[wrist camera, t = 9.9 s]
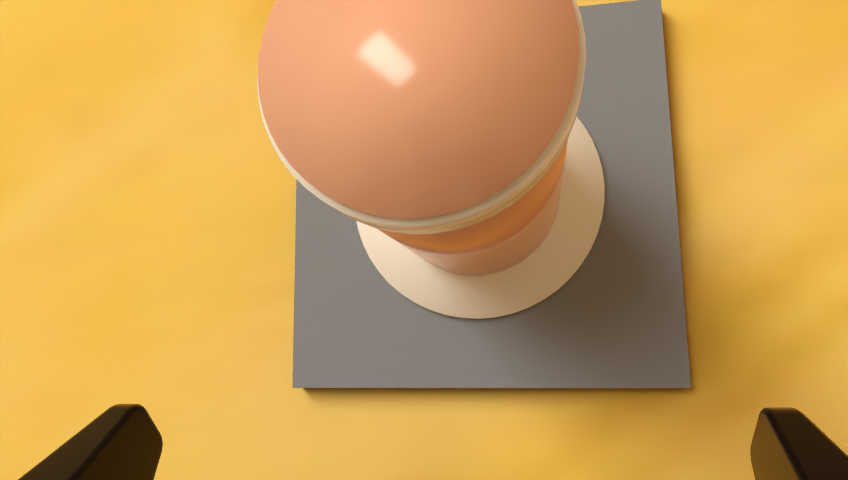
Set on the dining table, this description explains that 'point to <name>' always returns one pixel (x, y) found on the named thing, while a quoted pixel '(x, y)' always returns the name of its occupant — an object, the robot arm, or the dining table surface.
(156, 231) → the dining table surface
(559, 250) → the card
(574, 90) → the terracotta tube
